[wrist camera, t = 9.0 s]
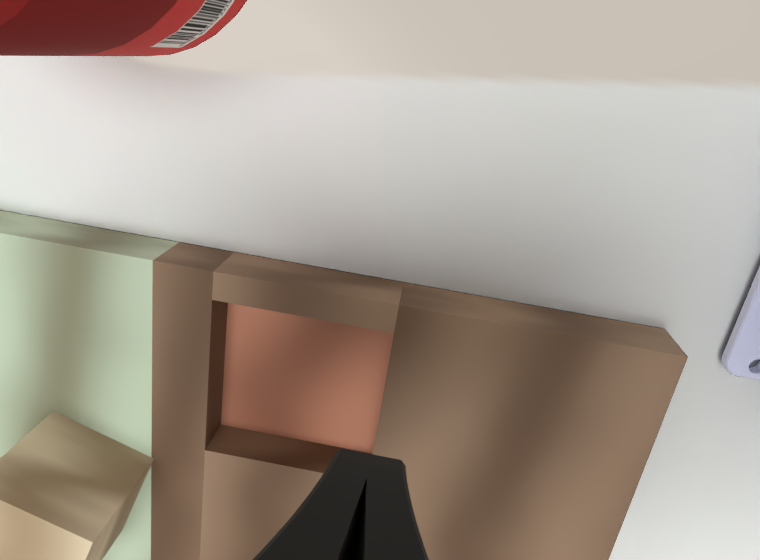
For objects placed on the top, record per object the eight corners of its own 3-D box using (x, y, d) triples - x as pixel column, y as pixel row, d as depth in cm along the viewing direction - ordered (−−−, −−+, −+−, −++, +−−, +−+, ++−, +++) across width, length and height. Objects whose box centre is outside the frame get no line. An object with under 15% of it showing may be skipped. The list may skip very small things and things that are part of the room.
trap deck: (664, 328, 20) (687, 356, 18) (514, 738, 28) (519, 787, 26) (-11, 208, 21) (-56, 223, 19) (32, 636, 29) (3, 677, 27)
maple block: (154, 458, 21) (93, 542, 18) (122, 530, 23) (59, 621, 19) (53, 410, 21) (-31, 485, 17) (27, 486, 23) (-55, 570, 19)
